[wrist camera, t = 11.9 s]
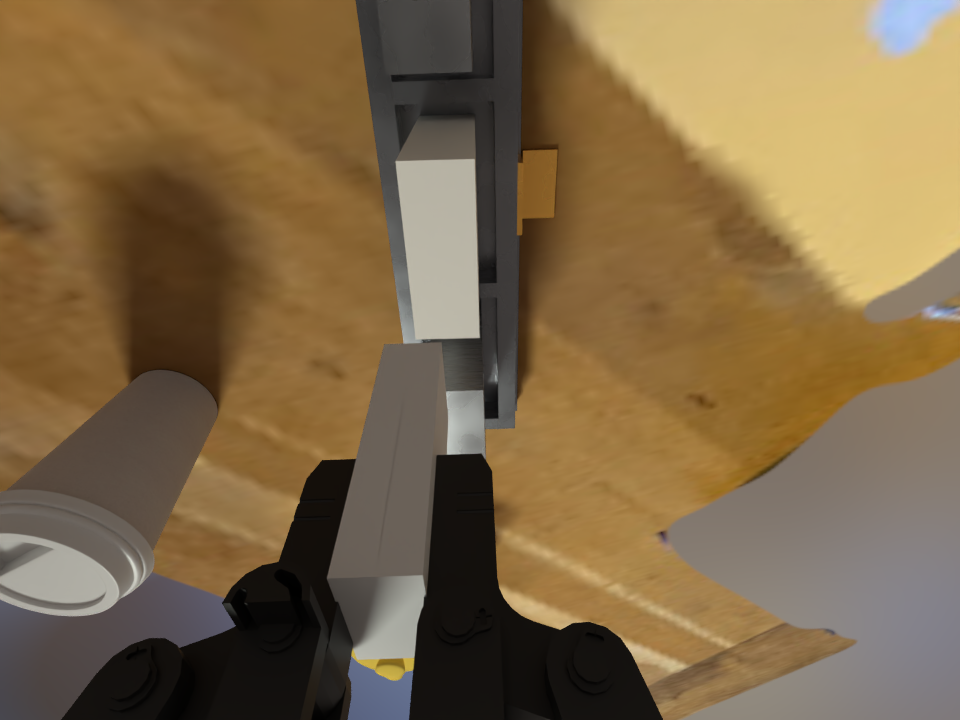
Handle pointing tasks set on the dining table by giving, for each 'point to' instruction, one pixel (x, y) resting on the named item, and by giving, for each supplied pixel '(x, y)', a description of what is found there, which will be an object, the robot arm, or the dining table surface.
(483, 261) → the rack
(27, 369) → the dining table surface
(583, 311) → the dining table surface
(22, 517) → the coffee cup
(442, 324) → the panel
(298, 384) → the dining table surface
